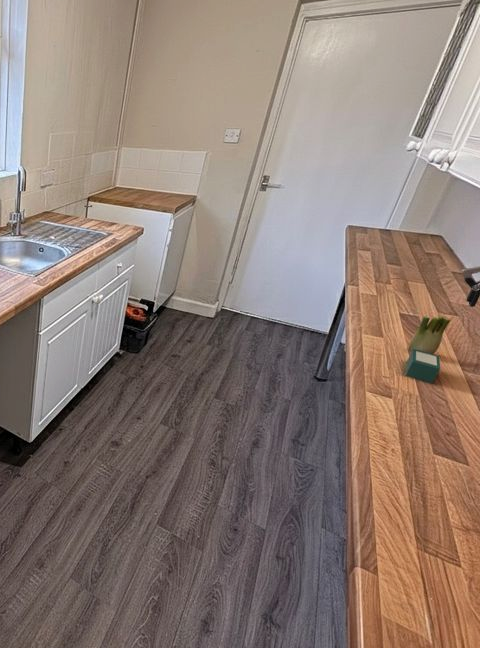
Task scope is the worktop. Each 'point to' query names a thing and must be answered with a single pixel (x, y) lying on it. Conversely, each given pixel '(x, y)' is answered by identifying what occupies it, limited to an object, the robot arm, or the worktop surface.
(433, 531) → the worktop surface
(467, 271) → the robot arm
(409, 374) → the tea packet
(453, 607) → the worktop surface
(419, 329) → the fennel bulb
